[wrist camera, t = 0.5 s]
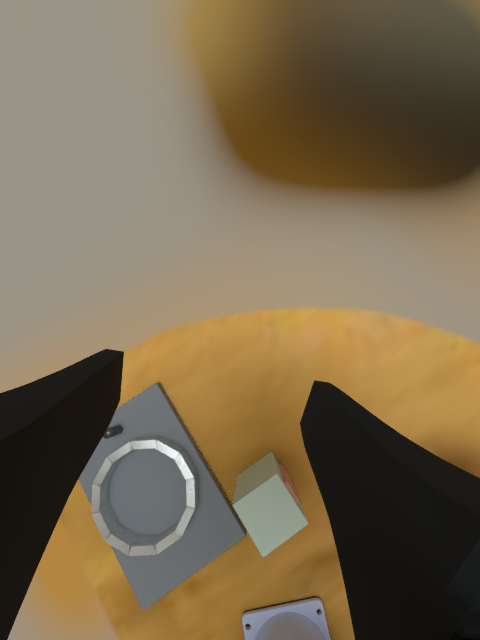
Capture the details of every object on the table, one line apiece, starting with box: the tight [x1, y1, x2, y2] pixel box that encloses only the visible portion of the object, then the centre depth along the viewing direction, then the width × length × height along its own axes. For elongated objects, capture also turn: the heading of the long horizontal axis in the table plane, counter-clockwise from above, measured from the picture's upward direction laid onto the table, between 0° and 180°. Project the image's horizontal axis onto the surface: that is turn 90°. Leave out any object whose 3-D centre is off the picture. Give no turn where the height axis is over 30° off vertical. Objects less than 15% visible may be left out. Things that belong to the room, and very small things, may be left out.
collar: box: [91, 425, 199, 556], centre depth 30 cm, size 13×10×2 cm
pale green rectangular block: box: [232, 452, 309, 557], centre depth 28 cm, size 4×5×8 cm
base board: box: [79, 383, 246, 610], centre depth 31 cm, size 18×12×1 cm, turn 34°
